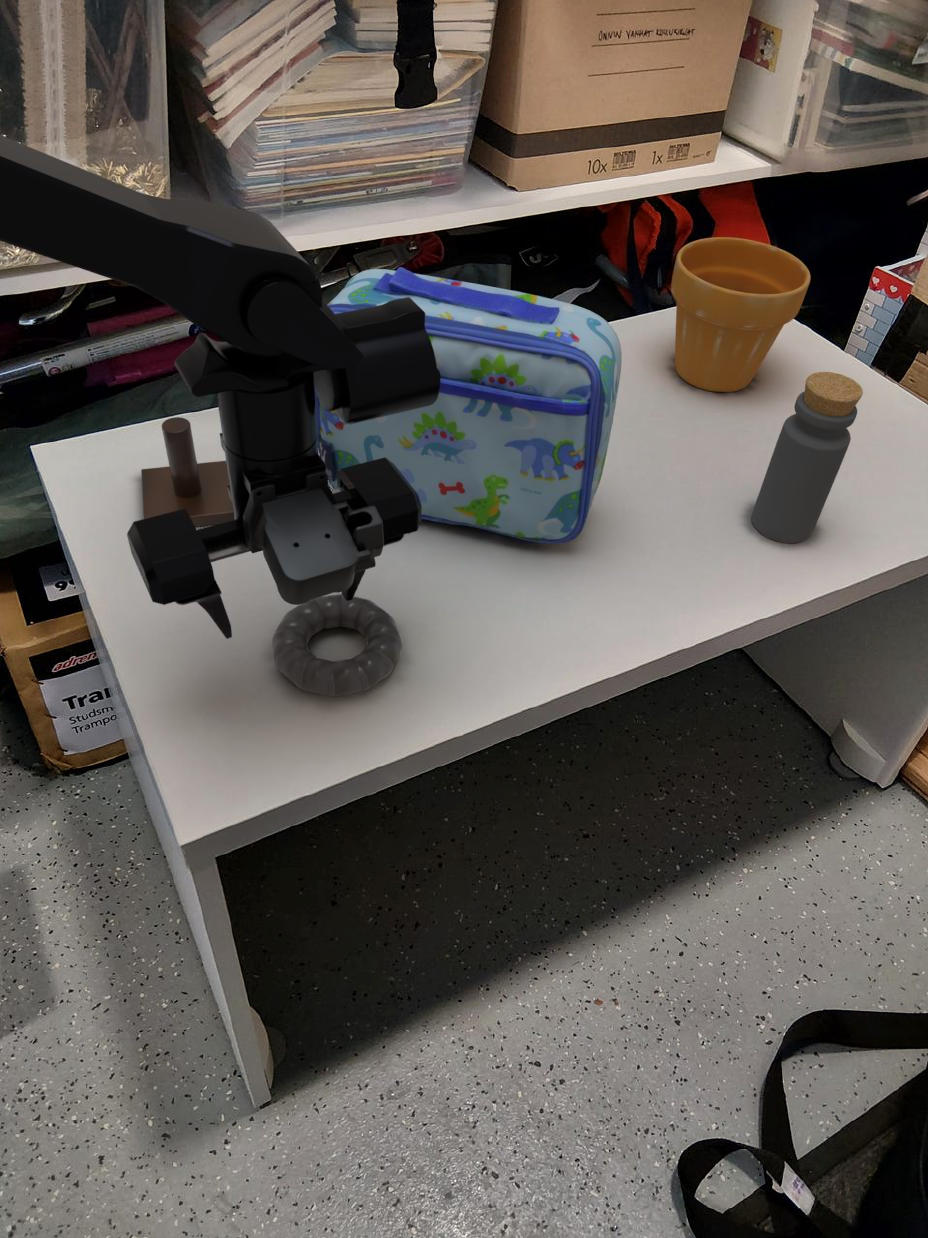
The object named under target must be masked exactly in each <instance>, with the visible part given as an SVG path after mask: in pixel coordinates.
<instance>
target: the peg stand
mask: <svg viewBox="0 0 928 1238" xmlns="http://www.w3.org/2000/svg"><path fill="white" fill-rule="evenodd" d="M161 430H162V436H163V440H164V445H165V451H166V456H167V461H168V466H160V467H151V468H141V470H140V471H141V473H140V474H141V493H142V511H143V519H146V518H150V517H154V516H158V515H162V514H166V513H170V512H174V511H177V510H181V509H185V508H186V510H187V512H188V514H189V516H190V518H191V520H192V522H193V524H194V526H195V528H196V527H206V526H213V525H217V524H221V523H224V522H228V521H232V520H234V513H233V506H232V502H231V501H230V499H229V495H228V488H227V486H229V478H228V471H227V464H226V460H220V461H219V460H218V461H210V462H198V461H197V454H196V450H195V443H194V438H193V431H192V426H191V422H190V420H189V419H187V418H184V417H179V416H175V417H170V418H167V419H165V420H164V421H163V422H162V423H161Z"/></svg>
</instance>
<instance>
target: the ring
mask: <svg viewBox="0 0 928 1238" xmlns="http://www.w3.org/2000/svg"><path fill="white" fill-rule="evenodd" d="M339 627H342V628H346V629H351V630H354V631H357V632H358V633H360V634H361V635H362V636H363V637H365V641H366V646H365V648H364V650H362V651H361V652H360V653H359V654H357V655H355V656H354V657H352V658H347V659H342V660H335V661H333V660H328V659H324V658H321V657H317V656H316V655H314V654H313V653H312V652H311V651H310V650H309V647H308V643H309V642H310V639H311V638H312V637H313V636H314V635H315V634H318V633H319V632H320V631H323V630H324V629H325V630H326V629H332V628H339ZM271 641H272V642H271V644H272V645H271V646H272V649H273V655H274V662H275V666H276V668H277V669H278V671H279V672H280V673H281V674H283V676H285V677H286V678H287V679H288V680H289V681H290V682H291V683H293V685H295V686H296V687H297V688H299V689H300V690H302V691H305V692H310V693H314V694H318V695H323V696H327V697H339V696H346V695H351V694H359V693H363V692H365V691H368V690H369V689H370V688H372V687H373V686H375V685H377V684H378V683H379V682H381V681H382V680H384V679H385V678H387V677H388V676H389V675H390V674H391V673H392V671H393V670H394V668H395V665H396V662H397V660H398V658H399V656H400V653H401V651H402V645H403V644H402V643H403V642H402V639H401V636H400V633H399V629H398V626H397V623H396V620H395V619H394V618H393V616H392V615H391V614H389V613H388V612H387V611H386V610H384V609H383V608H382V607H381V606H380V605H378V604H377V603H375V602H374V601H372V600H370V599H367V598H362V597H359V596H355V595H354V596H353V598H352V600H349V601H346V599H345V598H344V596H343V595H342V593H337V594H336V593H335V594H328V595H324V596H321V597H318V598H315V599H312V600H310V601H308V602H306V603H303V604H299V605H296V607H294V608H292V609H291V610H289V611H288V612H286V613H285V615H284V616H283V618H282V619H281V621H280V623H279V624H278V626H277V628H276V630H275V632H274V633H273V635H272V639H271Z"/></svg>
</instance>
